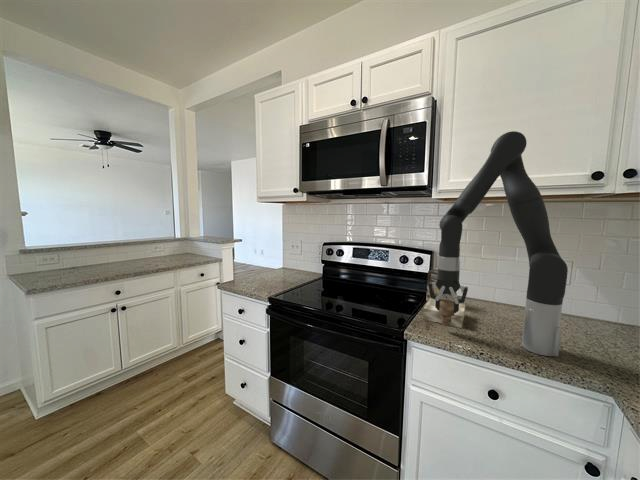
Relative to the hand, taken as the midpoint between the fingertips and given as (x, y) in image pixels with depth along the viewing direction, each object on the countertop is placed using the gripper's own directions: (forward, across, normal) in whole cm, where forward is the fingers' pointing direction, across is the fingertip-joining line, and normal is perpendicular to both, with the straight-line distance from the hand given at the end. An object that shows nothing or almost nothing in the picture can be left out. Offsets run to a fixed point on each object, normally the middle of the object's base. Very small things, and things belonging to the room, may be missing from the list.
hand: (446, 310), depth 101 cm
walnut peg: (+6, 0, 0) cm, 6 cm away
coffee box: (+8, +8, -35) cm, 37 cm away
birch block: (+8, +2, -15) cm, 18 cm away
